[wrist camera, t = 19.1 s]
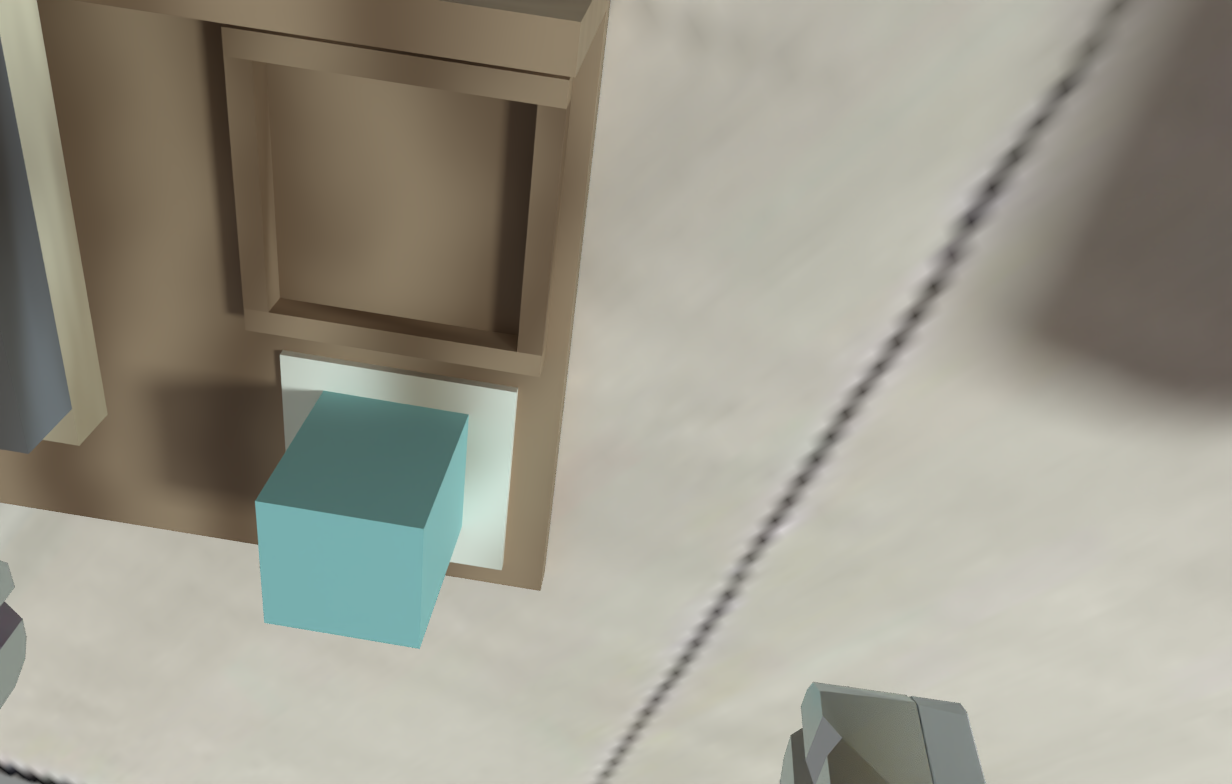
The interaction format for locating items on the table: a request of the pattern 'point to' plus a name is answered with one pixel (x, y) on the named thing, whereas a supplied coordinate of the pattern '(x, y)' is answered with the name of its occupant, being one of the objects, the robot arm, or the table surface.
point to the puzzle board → (321, 245)
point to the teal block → (362, 519)
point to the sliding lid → (39, 258)
